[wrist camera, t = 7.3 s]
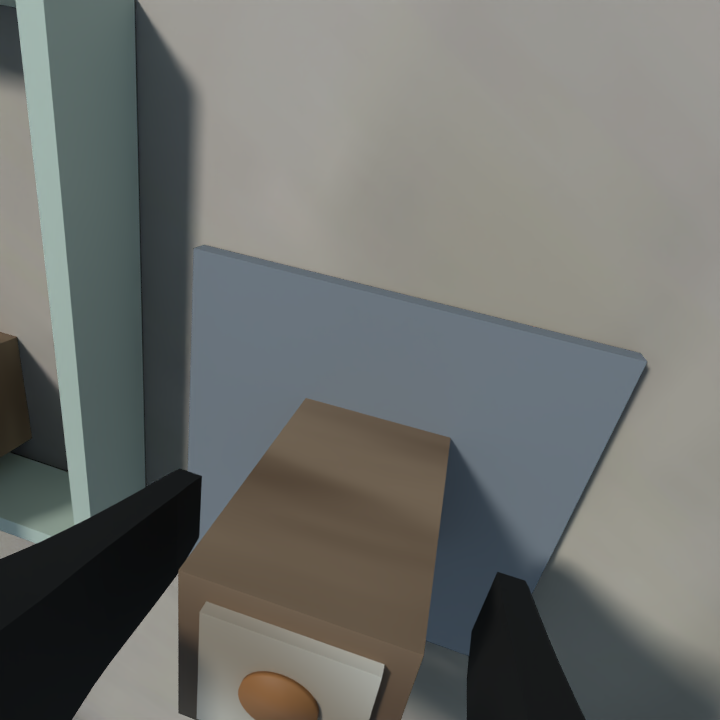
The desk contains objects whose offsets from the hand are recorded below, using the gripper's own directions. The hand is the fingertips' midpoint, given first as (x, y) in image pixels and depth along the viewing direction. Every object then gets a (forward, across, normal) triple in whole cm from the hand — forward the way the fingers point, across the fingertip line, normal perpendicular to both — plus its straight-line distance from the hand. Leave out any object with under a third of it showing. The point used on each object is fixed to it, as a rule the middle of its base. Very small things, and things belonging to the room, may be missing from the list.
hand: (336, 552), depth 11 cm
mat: (+3, 0, 0) cm, 3 cm away
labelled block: (+3, 0, 0) cm, 3 cm away
